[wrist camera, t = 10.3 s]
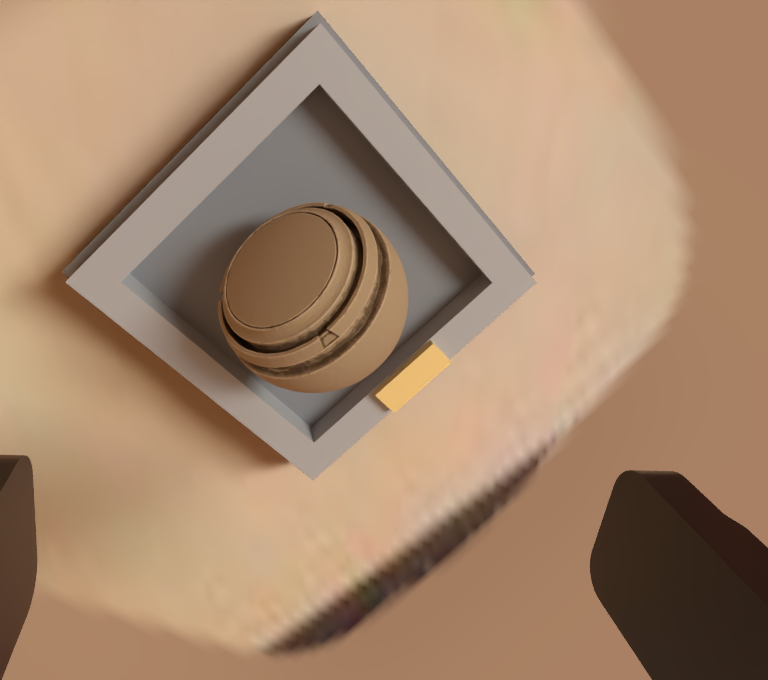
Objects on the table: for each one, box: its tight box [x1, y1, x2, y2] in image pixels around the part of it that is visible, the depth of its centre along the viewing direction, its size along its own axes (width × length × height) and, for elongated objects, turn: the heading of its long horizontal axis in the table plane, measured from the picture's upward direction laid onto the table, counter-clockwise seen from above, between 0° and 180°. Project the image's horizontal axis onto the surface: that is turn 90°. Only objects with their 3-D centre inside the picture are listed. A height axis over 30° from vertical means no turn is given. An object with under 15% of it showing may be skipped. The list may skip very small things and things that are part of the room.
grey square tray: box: [62, 11, 536, 480], centre depth 19 cm, size 10×10×2 cm
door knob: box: [218, 202, 408, 393], centre depth 17 cm, size 5×5×5 cm
